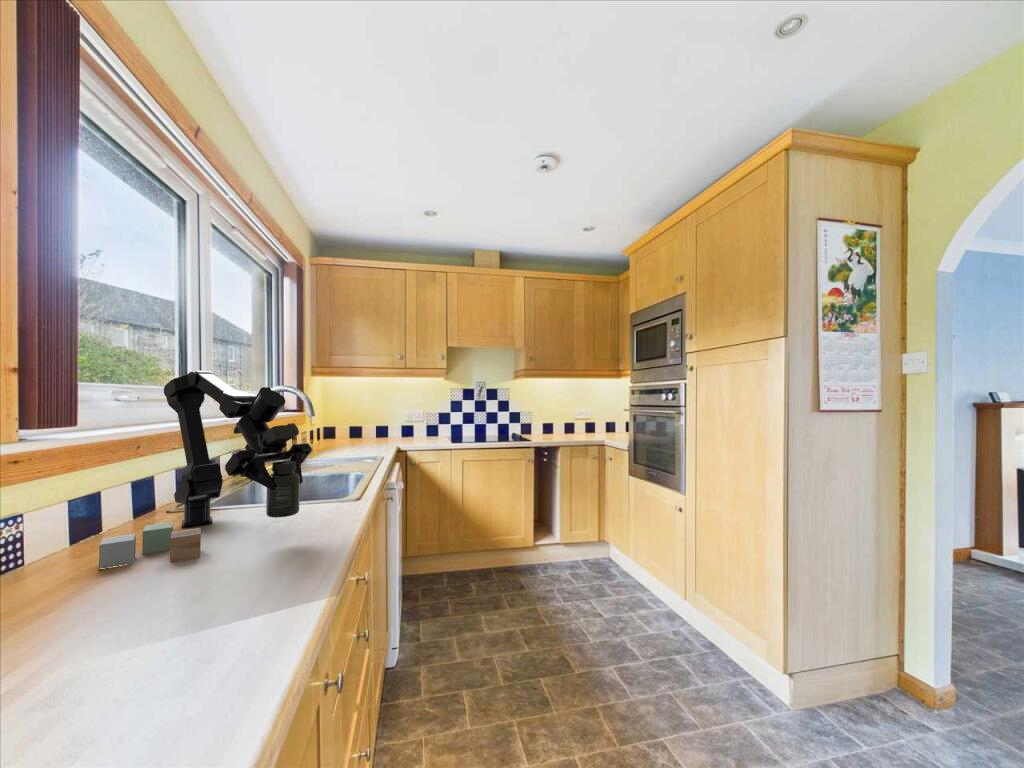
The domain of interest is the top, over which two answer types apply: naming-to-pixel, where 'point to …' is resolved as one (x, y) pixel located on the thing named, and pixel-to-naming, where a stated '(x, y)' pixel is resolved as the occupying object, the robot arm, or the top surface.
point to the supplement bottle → (283, 490)
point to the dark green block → (157, 537)
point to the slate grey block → (117, 550)
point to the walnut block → (185, 544)
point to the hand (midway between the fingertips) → (287, 485)
